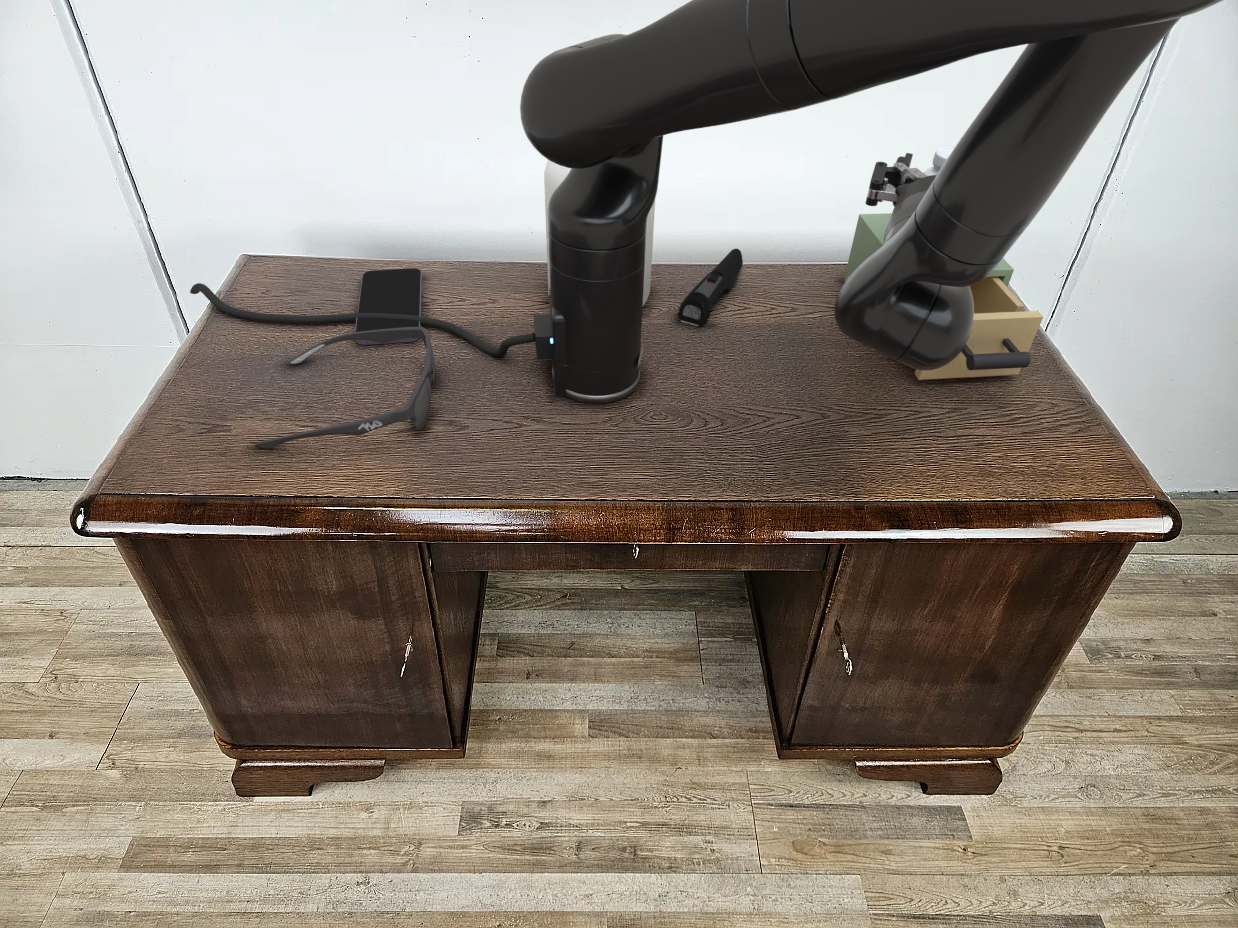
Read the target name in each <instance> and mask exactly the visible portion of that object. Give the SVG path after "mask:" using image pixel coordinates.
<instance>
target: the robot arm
mask: <svg viewBox="0 0 1238 928" xmlns="http://www.w3.org/2000/svg"><path fill="white" fill-rule="evenodd" d="M1223 1H1224V0H690V1H688V2H686V3H685V4H683V5H681V6H679V7H677V8H676V9H674V10H673V11H671V12H669V13H668V14H666V15H664V16H662V17H660V18H659V19H658V20H655V21H654V22H652V23H650V24H648V25H647V26H644V27H643V28H640V29H637V30H636V31H633V32H631V33H629V34H628V33H627V34H623V33H613V34H612V33H611V34H606V35H601V36H599V37H595V38H592V39H589V40H586V41H582V42H579V43H577V44H573V45H569V46H567V47H564V48H560V49H557V50H554V51H553V52H551V53H549V54H548V55H546V56H544V57H543V58H542V59H540V60H539V61H538V62H537V64H535V66H534V67H533V68H532V69H531V71H530V72H529V74H528V75H527V78H526V80H525V81H524V84H523V87H522V91H521V94H520V102H519V111H520V121H521V122H520V123H521V125H522V128H523V132H524V134H525V136H526V138H527V140H528V142H530V144H531V145H532V147H533V148H534V149H535V150H536V151H537V152H538V153H539V154H540V155H541V156H542V157H544V158H545V159H547V160H549V161H551V162H553V163H555V164H558V165H560V166H563V167H567V168H571V170H570V172H569V173H568V175H567V176H566V178H565V179H564V180H563V181H562V183H561V184H560V185H559V186H558V187H557V189H556V190H555V191H554V192H553V194H552V195H551V197H550V200H549V203H548V237H549V265H550V289H549V295H548V298H549V313H542V314H541V313H540V314H533V322H534V323H533V324H534V325H533V327H534V332H531V333H525V334H519V335H514V336H511V337H508V338H506V339H504V340H502V341H501V342H500V344H499V347H493V346H490V345H489V344H486V343H485V342H484V341H482V340H480V339H479V338H477V337H476V336H475V335H473V334H472V333H471V332H469V331H467V330H466V329H464V328H462V327H460V326H459V325H457V324H454V323H452V322H448V321H445V320H441V319H438V318H433V317H429V316H423V315H421V316H414V315H403V314H383V313H357V312H350V313H335V314H333V313H332V314H319V315H318V314H316V315H301V314H297V315H296V314H279V313H278V314H276V313H275V314H274V313H265V312H264V313H263V312H257V311H250V310H246V309H241V308H238V307H234V306H231V305H229V304H227V303H225V302H224V301H222V300H221V299H220V298H219V297H218V295H216V294H215V293H214V291H212V290H211V289H210V288H209V287H208V286H207V285H206V284H204V283H201V282H198V283H195V284H193V285H192V287H191V288H190V290H189V293H190V294H191V295H197V294H199V293H201V294H203V296H204V297H205V298H206V299H207V300H208V301H209V302H210V303H211V304H212V305H213V306H214V307H215V308H217V309H218V310H219V311H221V312H222V313H225V314H227V315H229V316H233V317H235V318H239V319H245V320H249V321H255V322H256V321H257V322H263V323H264V322H265V323H280V324H281V323H282V324H301V325H303V324H305V325H308V324H311V325H314V324H317V325H318V324H333V323H334V324H335V323H348V322H356V319H357V318H358V317H371V318H393V319H407V320H416V321H420V324H421V326H429V327H433V328H436V329H442V330H444V331H447V332H450V333H452V334H454V335H456V336H458V337H460V338H461V339H463V340H464V341H466V342H467V343H469V344H471V345H472V346H473V347H475V348H476V349H478V350H480V351H482V352H484V353H485V354H487V355H489V356H492V357H494V358H495V357H496V358H502V357H504V356H505V355H507V354H508V353H507V352H508V350H509V349H510V348H512V347H514V346H519V345H524V344H525V345H526V344H530V343H534V344H535V353H536V354H535V356H536V360H538V361H542V360H551V368H552V369H551V373H552V374H551V375H552V382H553V389H554V396H556V397H568V398H569V399H571V400H574V401H578V402H581V403H588V404H606V403H611V402H612V403H613V402H616V401H620V400H622V399H624V398H626V397H628V396H629V395H631V394H632V393H633V392H634V391H635V390H636V389H637V388H638V386H639V384H640V381H641V361H642V356H643V353H644V345H642V326H643V324H642V323H643V308H644V306H643V288H644V268H645V248H646V228H647V217H648V214H649V212H650V210H651V208H652V206H653V203H654V201H655V202H656V197H657V195H658V188H659V183H660V182H659V181H660V171H661V163H662V154H663V153H662V152H663V144H664V136H668V135H670V134H675V133H679V132H685V131H692V130H698V129H704V128H705V129H706V128H711V127H717V126H723V125H724V126H725V125H728V124H729V125H730V124H734V123H735V124H736V123H740V122H744V121H745V122H746V121H749V120H755V119H759V118H764V117H769V116H774V115H778V114H783V113H787V112H793V111H797V110H800V109H801V110H802V109H804V108H808V107H812V106H816V105H819V104H822V103H826V102H830V101H834V100H838V99H841V98H845V97H848V96H852V95H854V94H856V93H860V92H863V91H866V90H869V89H872V88H875V87H879V86H883V85H886V84H890V83H894V82H897V81H901V80H904V79H907V78H911V77H914V76H917V75H920V74H924V73H927V72H930V71H933V70H936V69H939V68H942V67H945V66H948V65H951V64H954V63H956V62H959V61H962V60H966V59H969V58H972V57H975V56H979V55H982V54H986V53H990V52H995V51H999V50H1003V49H1009V48H1014V47H1018V46H1025V45H1026V46H1025V48H1024V49H1023V51H1022V52H1021V54H1020V55H1019V57H1018V59H1016V61H1015V63H1014V64H1013V66H1011V68H1010V70H1009V71H1008V73H1007V74H1006V75H1005V77H1004V78H1003V80H1002V81H1001V82H1000V84H999V85H998V86H997V88H996V89H995V91H994V92H993V93H992V95H991V96H990V98H989V99H988V100H987V101H986V103H985V105H984V106H983V107H982V108H981V109H980V110H979V113H978V114H977V115H976V117H975V118H974V119H973V120H972V122H971V123H970V125H969V126H968V128H967V129H966V131H965V132H964V134H963V135H962V136H961V137H960V139H959V141H958V142H957V143H956V145H955V146H954V147H955V148H954V149H953V151H952V152H951V154H950V155H949V157H948V158H947V160H946V161H945V163H944V164H943V166H942V168H941V169H940V171H939V172H938V174H937V175H931V176H927V175H925V174H924V172H923V171H922V170H920V168H918V167H911V164H912V160H913V156H914V153H910V152H906V153H905V155H904V156H899V157H897V159H896V161H895V162H894V163H893V166H888V163H887V162H884V161H876V162H875V165H874V167H873V170H872V174H871V178H870V182H869V186H868V190H867V195H866V199H865V205H866V206H869V207H877V206H878V203H882V202H884V201H885V202H891V203H892V206H893V209H892V212H891V213H892V214H891V217H890V220H889V222H888V225H887V227H886V230H885V234H884V241H883V245H882V247H881V248H879V249H878V250H877V251H876V252H874V253H873V254H872V255H871V256H870V257H868V258H867V259H866V260H865V261H864V262H863V263H861V264H860V265H859V266H858V267H857V268H856V269H855V270H854V271H853V272H852V273H851V275H850V276H849V277H848V278H847V280H846V281H845V282H844V281H843V284H842V285H841V287H840V290H839V291H838V293H837V295H836V299H835V303H834V319H835V322H836V325H837V327H838V329H839V330H840V332H841V333H842V334H843V335H844V336H846V337H848V338H849V339H851V340H852V341H854V342H856V343H859V344H861V345H862V346H864V347H868V348H869V349H872V350H873V351H876V352H878V353H879V354H882V355H883V356H886V357H888V358H889V359H891V360H895V361H896V362H898V363H901V364H902V365H904V366H907V367H909V368H910V369H913V370H916V369H917V370H923V371H927V370H934V369H938V368H940V367H942V366H945V365H946V364H948V363H950V362H951V361H952V360H953V359H955V357H956V356H957V355H958V354H959V353H960V352H961V351H962V349H963V348H964V346H965V344H966V342H967V340H968V338H969V335H970V333H971V329H972V325H973V319H974V301H973V295H972V292H971V289H970V286H971V285H974V284H977V283H978V282H980V281H982V280H983V279H985V278H986V277H987V276H988V275H989V274H990V273H991V272H992V271H993V270H994V268H995V267H996V266H997V265H998V264H999V262H1000V261H1001V260H1002V259H1004V258H1005V256H1006V255H1007V253H1008V252H1009V251H1010V250H1011V249H1012V247H1013V246H1014V245H1015V243H1016V242H1017V241H1018V240H1019V238H1020V237H1021V236H1022V234H1023V233H1024V232H1025V231H1026V229H1027V228H1028V227H1029V226H1030V225H1031V223H1032V222H1033V221H1034V219H1035V217H1036V216H1037V215H1038V214H1039V212H1040V211H1041V210H1042V208H1043V207H1044V205H1045V204H1046V203H1047V202H1048V200H1049V199H1050V197H1051V196H1052V195H1053V193H1054V191H1055V190H1056V188H1057V187H1058V186H1059V184H1060V183H1061V182H1062V180H1063V178H1064V177H1065V175H1066V174H1067V172H1068V171H1069V169H1070V168H1071V166H1072V165H1073V163H1074V162H1075V160H1076V159H1077V157H1078V156H1079V154H1080V152H1081V151H1082V149H1083V148H1084V146H1085V145H1086V144H1087V142H1088V140H1089V139H1090V138H1091V136H1092V134H1093V133H1094V131H1095V130H1096V128H1098V125H1099V123H1100V122H1101V121H1102V120H1103V118H1104V117H1105V114H1106V113H1107V112H1108V110H1109V109H1110V107H1111V106H1112V105H1113V103H1114V102H1115V101H1116V99H1117V98H1118V97H1119V95H1120V93H1121V92H1122V90H1123V89H1124V88H1125V87H1126V86H1127V84H1128V83H1129V81H1131V79H1132V77H1133V76H1134V75H1135V74H1136V72H1137V71H1138V70H1139V68H1140V67H1141V66H1142V64H1143V63H1145V60H1146V59H1147V58H1148V57H1149V56H1150V54H1152V52H1153V51H1154V50H1155V48H1156V47H1157V46H1158V45H1159V43H1160V42H1161V41H1162V40H1163V39H1164V38H1165V36H1167V34H1168V33H1169V32H1170V31H1171V29H1173V27H1174V26H1175V25H1176V24H1177V23H1178V22H1179V21H1180V19H1181V18H1184V17H1186V16H1191V15H1193V14H1196V13H1198V12H1199V13H1200V12H1202V11H1205V10H1206V9H1208V8H1210V7H1213V6H1215V5H1217V4H1219V3H1221V2H1223Z"/></svg>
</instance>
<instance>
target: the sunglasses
mask: <svg viewBox="0 0 1238 928" xmlns="http://www.w3.org/2000/svg"><path fill="white" fill-rule="evenodd" d="M403 338H415V339H418V340H422V341H423V344H424V347H425V359H424V366H423V367H424V368H423V371H422V372H421V375H420V377H419V379H418V381H417V383H416V385H415V387H414V389H413V392H412V393H411V395H410V396H409V399H408V400H407V401H406V404H405V405H404V406H403V407H401V408H394V410H390V411H387V412H384V413H380V414H376V415H373V416H369V417H365V418H361V419H358V420H353V421H349V422H343V423H339V424H334V425H330V426H324V427H321V428H315V429H310V430H305V431H301V432H296V433H292V434H288V435H283V436H279V437H273V438H269V439H265V440H264V439H263V440H260V441H257V442H255V446H257V447H258V448H260V449H261V448H262V449H265V450H269V449H272V448H275V447H277V446H279V445H282V444H284V443H287V442H292V441H295V440H301V439H307V438H315V437H321V436H335V435H336V436H337V435H338V436H339V435H341V436H359V437H360V436H362V435H365V434H367V433H369V432H371V431H375V430H377V429H380V428H383V427H387V426H390V425H394V424H397V423H401V422H406V421H409V420H410V422H411V423H413V425H414V428H415V429H416V430H418V431H421V430H422V429H423V428H424V427H425V425H426V423H427V421H428V419H429V414H430V409H431V401H432V399H431V398H432V389H431V388H432V386H431V385H435V379H436V360H435V353H434V349H433V344H432V339H431V335H430V333H429V331H428V330H427V329H426V328H425V327H423V326H421V327H402V328H390V329H379V330H370V331H360V332H355V331H353V332H348V333H344V334H340V335H336V336H333V337H330V338H327V339H325V340H322V341H320V342H318V343H317V344H315V345H312V346H311V347H309V348H308V349H305V350H304V351H302V352H301V353H299V354H298V355H296V356H294V357H293V358H292V359H290V360H288V362H287V365H291V366H293V365H294V366H295V365H300V364H302V363H303V362H305V361H306V360H307V359H308V358H310V357H311V356H312V355H314V354H315V353H316V352H318V351H320V350H321V349H323V348H326V347H327V346H330V345H334V344H336V343H341V342H345V341H356V340H367V341H374V342H380V343H385V342H389V341H392V340H396V339H403Z"/></svg>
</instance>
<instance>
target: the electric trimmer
mask: <svg viewBox="0 0 1238 928" xmlns="http://www.w3.org/2000/svg"><path fill="white" fill-rule="evenodd" d="M743 264H744V261H743V254H742V251H741V250H740V249H739V248H733V249H732V250H730V252H728V253H727V255H726V256H725V257H724V258H722V260H721V261H720V262H719V263H718V264H717V265H716V266H715V267H714V268H713V269H712V270H711V271H710V272H709V273H707V275H705V277H703V278H702V279H701V280H700V282H698V283H697V284H696V285H695V287H694V288H693V289H692V290H691V291H689V293H688V294H687V295H686V297H685V298H684V299H683V301H681V304H680V306H679V309H678V313H677V317H678V319H679V322H680V323H683V324H688V325H691V326H695V327H699V326H701V325H705V324H707V322H708V320H709V318H710V315H711V311H712V310H711V309H712V307H713V305H714V304H715V302H716V301H717V300H718V299H719V298H720V296H721V295H722V293H726V292H729V291H731V289H732V287H733V286H734V284H735V282H736V280H737V278H738V276H739V274H740V272H741V269H742V267H743Z"/></svg>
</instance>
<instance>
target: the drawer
mask: <svg viewBox="0 0 1238 928" xmlns="http://www.w3.org/2000/svg"><path fill="white" fill-rule="evenodd" d="M970 289H971V292H972V295H973V301H974V319H973V325H972V329H971V333H970V335H969V338H968V340H967V342H966V344H965V346H964V348H963V349H962V351H961V352H960V353H959V354H958V355H957V356H956V357H955V359H953V360H952V361H951V362H950V363H948V364H946V365H945V366H942V367H940V368H938V369H934V370H927V371H923V370H917V369H915V371H914V375H915V377H916V378H917V379H918V380H919V381H923V380H941V379H944V380H945V379H963V378H978V377H979V378H980V377H996V376H1000V377H1001V376H1015V375H1017V376H1018V375H1020V372H1021V370H1022V369H1024V368H1028V367H1029V366H1030V364H1031V360H1032V359H1031V355H1030V353H1029V351H1030V349H1031V347H1032V344H1033V342H1034V340H1035V337H1036V335H1037V333H1038V330H1039V328H1040V325H1041V324H1042V322H1043V319H1044V315H1042V313H1041V312H1039V310H1028V311H1025V310H1024V309H1025V305H1024V304H1023V303H1022V302H1021V300H1020V299H1019V298H1018V297H1017V296H1016V295H1015V294H1014V293H1013V292H1012V290H1010V288H1009V287H1007V286H1006V285H1005V284H1004V283H1003V282H1002V281H1001V280H1000V279H999V278H998V277H997V276H994V277H986V278H985V279H983V280H982V281H980V282H978V283H977V284H974V285H971V286H970Z"/></svg>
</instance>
